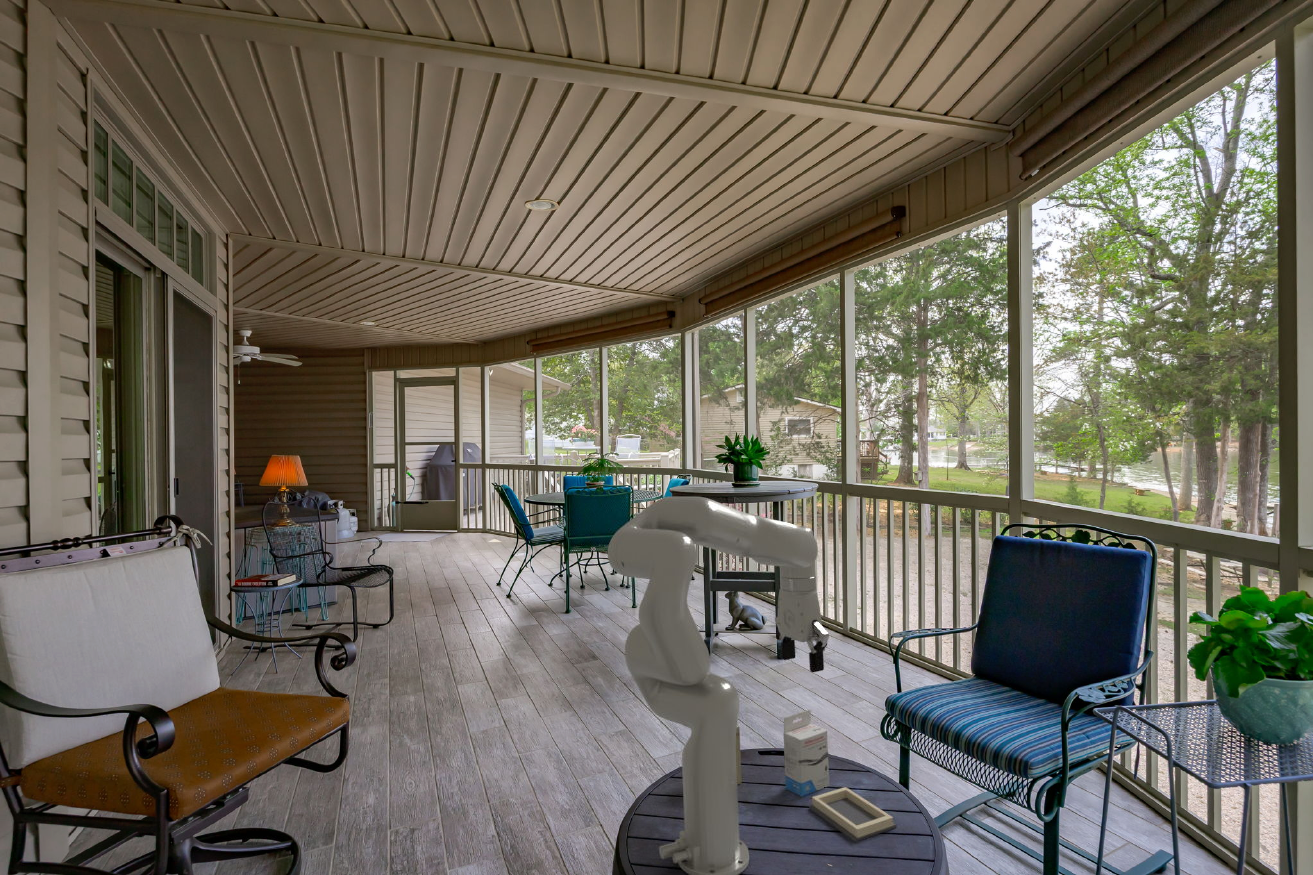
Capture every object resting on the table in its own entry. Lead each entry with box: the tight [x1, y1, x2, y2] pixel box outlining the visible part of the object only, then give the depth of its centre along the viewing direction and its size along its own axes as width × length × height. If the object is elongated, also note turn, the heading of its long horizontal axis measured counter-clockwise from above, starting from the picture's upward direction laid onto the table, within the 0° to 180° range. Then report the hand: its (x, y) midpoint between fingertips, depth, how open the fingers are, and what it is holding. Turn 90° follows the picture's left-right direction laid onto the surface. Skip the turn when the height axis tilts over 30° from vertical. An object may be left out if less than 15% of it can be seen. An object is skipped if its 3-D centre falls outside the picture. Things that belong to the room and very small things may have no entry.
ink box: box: [783, 709, 830, 798], centre depth 136 cm, size 8×5×15 cm, turn 123°
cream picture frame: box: [808, 786, 897, 843], centre depth 123 cm, size 10×13×2 cm
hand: (802, 664), depth 137 cm, fingers open, 9 cm apart
